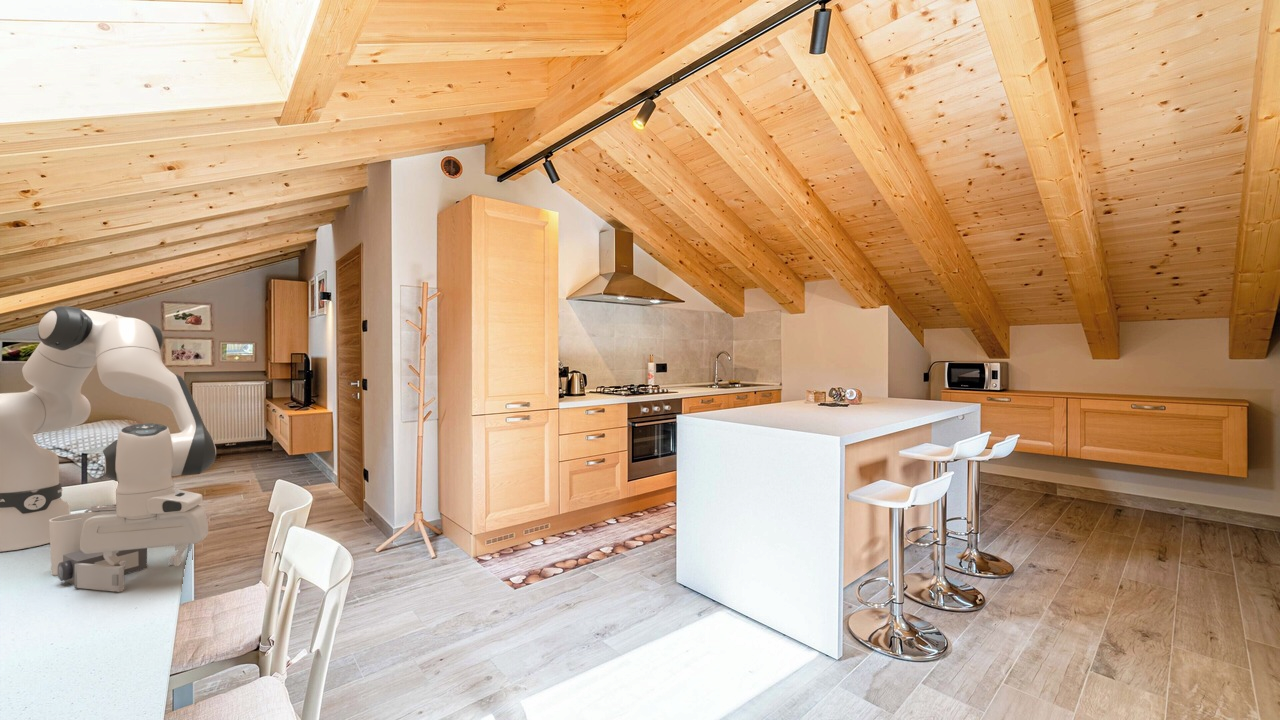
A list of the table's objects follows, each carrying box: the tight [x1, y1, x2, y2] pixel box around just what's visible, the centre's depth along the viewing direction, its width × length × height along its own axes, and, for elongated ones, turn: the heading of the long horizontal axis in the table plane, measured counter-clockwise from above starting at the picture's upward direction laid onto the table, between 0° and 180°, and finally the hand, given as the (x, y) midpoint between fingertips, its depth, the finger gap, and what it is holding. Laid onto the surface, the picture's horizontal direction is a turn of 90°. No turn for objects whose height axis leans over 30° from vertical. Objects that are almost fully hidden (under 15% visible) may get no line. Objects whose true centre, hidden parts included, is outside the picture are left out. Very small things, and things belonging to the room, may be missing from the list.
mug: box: [49, 512, 84, 577], centre depth 117 cm, size 10×7×12 cm, turn 130°
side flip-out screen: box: [74, 563, 125, 593], centre depth 105 cm, size 1×12×5 cm, turn 80°
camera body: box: [58, 548, 148, 587], centre depth 113 cm, size 8×12×6 cm, turn 153°
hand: (147, 568), depth 108 cm, fingers open, 8 cm apart
